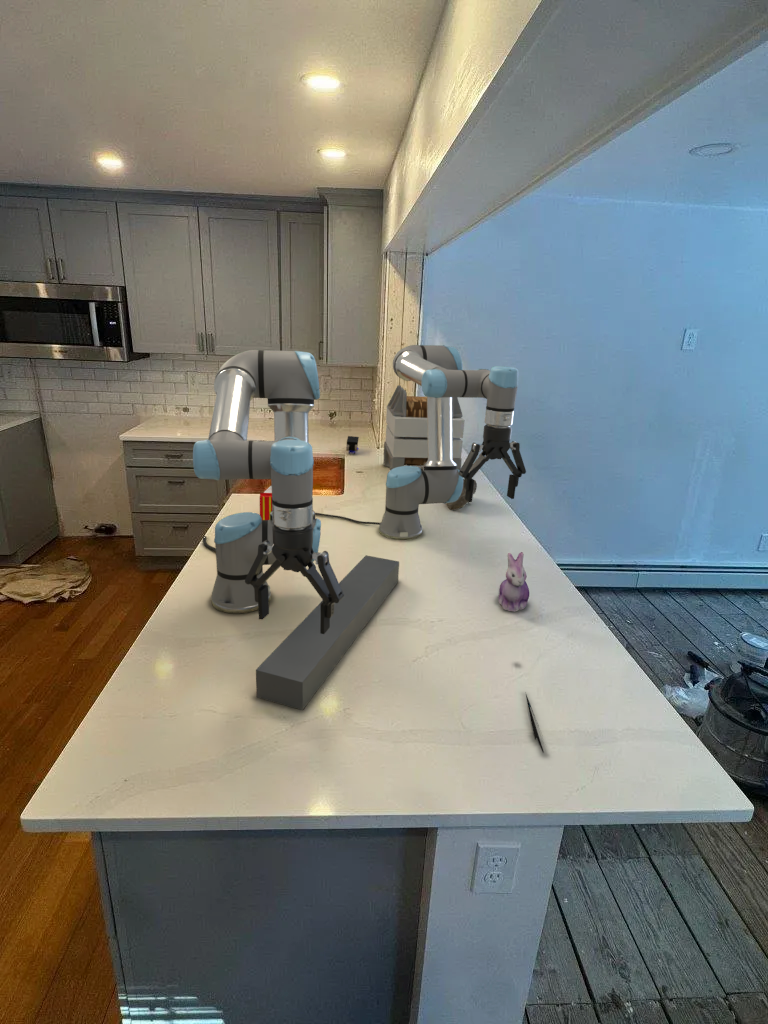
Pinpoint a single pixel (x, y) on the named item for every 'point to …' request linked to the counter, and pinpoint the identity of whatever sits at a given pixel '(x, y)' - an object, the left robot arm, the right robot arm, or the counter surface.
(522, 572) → the figurine
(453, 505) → the fossil
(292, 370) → the left robot arm
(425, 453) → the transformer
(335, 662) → the slab
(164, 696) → the counter surface
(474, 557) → the counter surface
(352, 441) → the figurine character
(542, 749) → the feather
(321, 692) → the counter surface
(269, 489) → the toy
